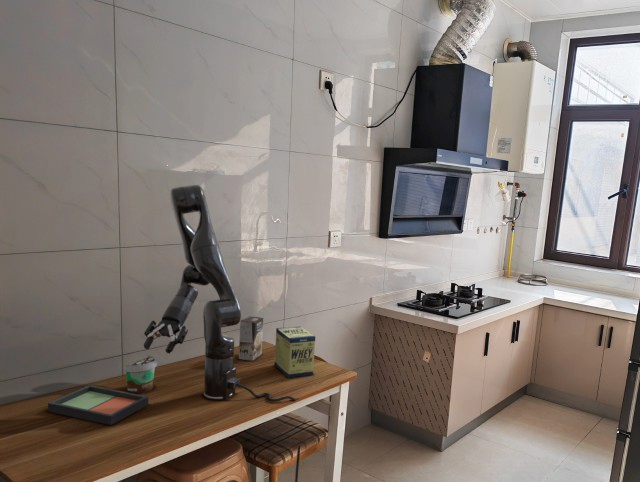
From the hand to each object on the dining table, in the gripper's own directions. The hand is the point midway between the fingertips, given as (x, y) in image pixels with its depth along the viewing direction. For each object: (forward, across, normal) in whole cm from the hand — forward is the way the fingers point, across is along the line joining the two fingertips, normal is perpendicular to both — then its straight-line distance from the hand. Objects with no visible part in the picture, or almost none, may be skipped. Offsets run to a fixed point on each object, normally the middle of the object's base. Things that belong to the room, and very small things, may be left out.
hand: (156, 350), depth 189 cm
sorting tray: (+25, -2, -8) cm, 27 cm away
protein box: (-16, +36, +33) cm, 51 cm away
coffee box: (-20, +14, +37) cm, 44 cm away
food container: (+13, 0, +5) cm, 14 cm away
